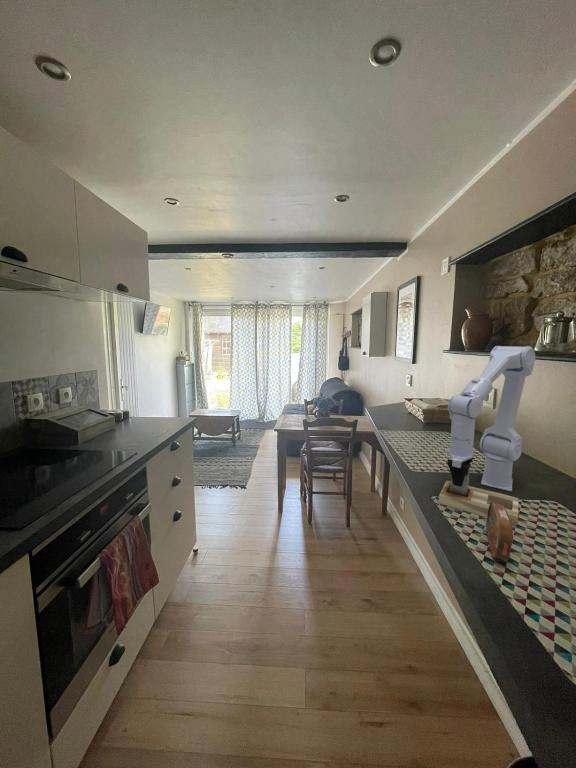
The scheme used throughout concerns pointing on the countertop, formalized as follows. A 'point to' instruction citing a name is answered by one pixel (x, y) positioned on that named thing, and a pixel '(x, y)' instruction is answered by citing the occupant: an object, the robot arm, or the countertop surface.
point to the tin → (499, 531)
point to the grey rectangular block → (464, 488)
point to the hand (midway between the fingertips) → (458, 482)
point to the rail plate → (479, 501)
